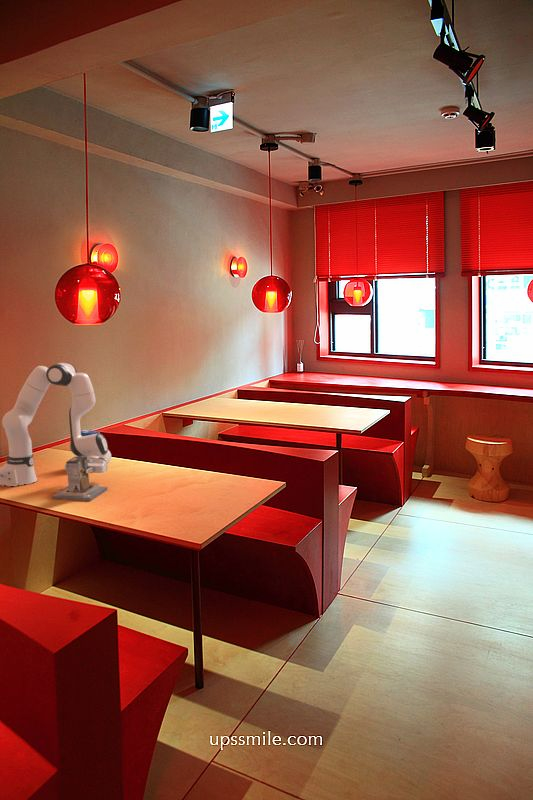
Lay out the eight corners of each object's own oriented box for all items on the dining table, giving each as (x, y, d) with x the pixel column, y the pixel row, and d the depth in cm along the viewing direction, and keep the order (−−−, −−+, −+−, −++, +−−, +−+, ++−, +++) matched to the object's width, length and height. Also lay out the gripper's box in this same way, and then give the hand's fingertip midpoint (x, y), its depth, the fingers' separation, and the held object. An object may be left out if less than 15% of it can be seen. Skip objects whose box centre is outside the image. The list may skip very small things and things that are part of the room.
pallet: (51, 498, 293) (51, 493, 292) (70, 487, 310) (70, 482, 310) (90, 501, 289) (90, 495, 288) (107, 489, 306) (107, 484, 306)
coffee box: (77, 487, 304) (75, 455, 300) (89, 487, 302) (87, 456, 299) (68, 493, 295) (65, 461, 291) (81, 494, 293) (78, 462, 290)
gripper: (72, 456, 311) (57, 464, 298) (109, 458, 308) (97, 466, 294) (72, 468, 312) (58, 476, 299) (110, 470, 309) (97, 478, 295)
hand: (78, 471), depth 297 cm, fingers closed on coffee box, 6 cm apart
